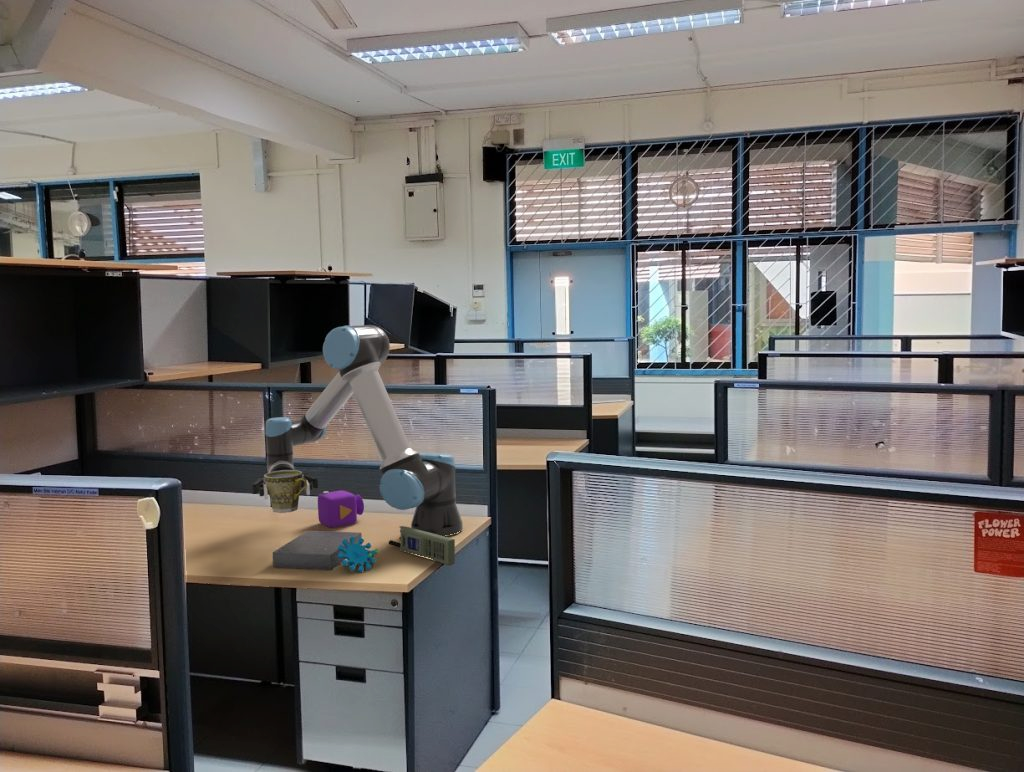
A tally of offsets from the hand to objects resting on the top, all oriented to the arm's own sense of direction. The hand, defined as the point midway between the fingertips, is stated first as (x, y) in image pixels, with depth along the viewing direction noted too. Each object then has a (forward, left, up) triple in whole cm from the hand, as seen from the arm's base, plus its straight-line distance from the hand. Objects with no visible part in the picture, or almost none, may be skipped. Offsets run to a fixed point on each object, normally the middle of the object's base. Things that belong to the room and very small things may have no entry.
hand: (287, 492), depth 211 cm
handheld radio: (-34, -7, -18) cm, 39 cm away
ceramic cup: (+2, -4, -6) cm, 7 cm away
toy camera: (+1, -35, -18) cm, 39 cm away
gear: (-22, +5, -18) cm, 29 cm away
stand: (-7, -2, -18) cm, 19 cm away
